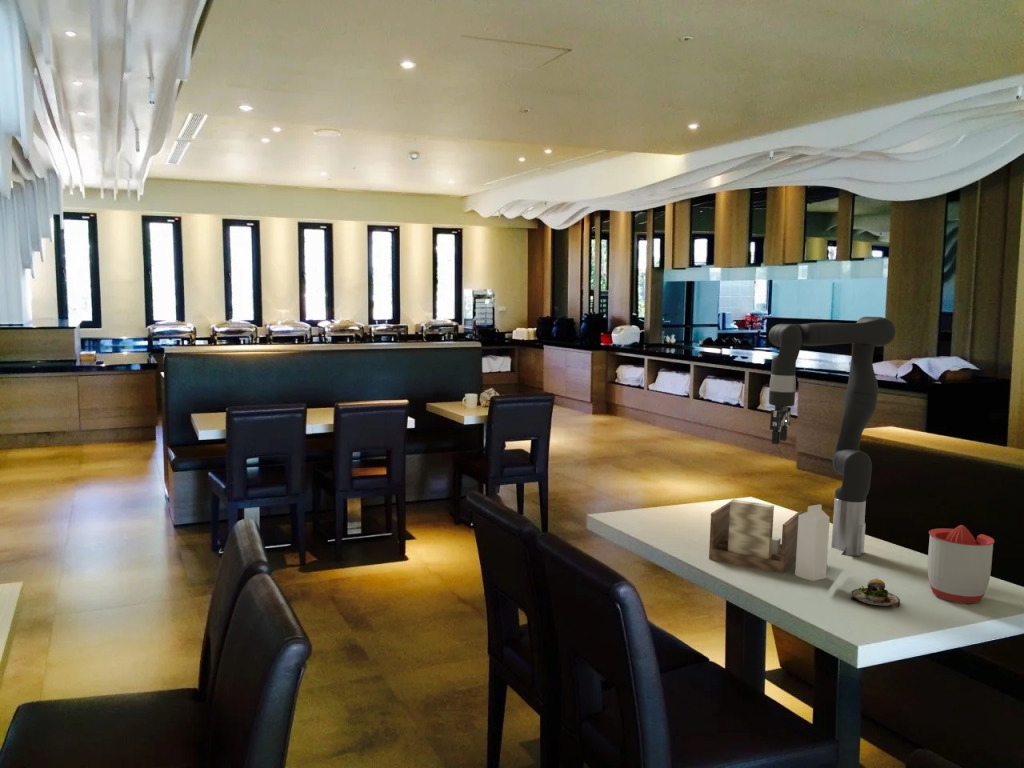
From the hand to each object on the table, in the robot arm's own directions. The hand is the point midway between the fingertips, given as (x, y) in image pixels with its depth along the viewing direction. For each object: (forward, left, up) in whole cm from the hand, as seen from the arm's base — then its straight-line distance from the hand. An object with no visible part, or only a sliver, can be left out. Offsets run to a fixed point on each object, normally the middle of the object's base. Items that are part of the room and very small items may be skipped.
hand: (779, 442), depth 250 cm
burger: (-33, +23, -37) cm, 54 cm away
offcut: (-2, +10, -35) cm, 36 cm away
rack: (+3, +9, -36) cm, 37 cm away
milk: (-15, +17, -36) cm, 43 cm away
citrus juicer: (-51, +5, -36) cm, 63 cm away
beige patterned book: (+3, +16, -35) cm, 38 cm away
